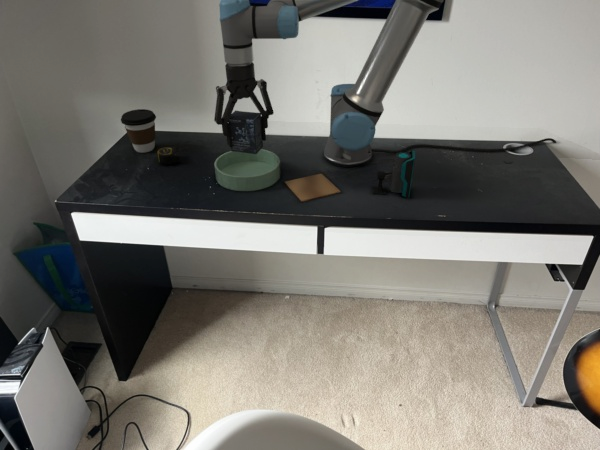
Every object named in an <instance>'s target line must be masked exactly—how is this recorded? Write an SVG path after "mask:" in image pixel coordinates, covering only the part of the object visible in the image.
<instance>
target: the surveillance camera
mask: <svg viewBox="0 0 600 450" xmlns="http://www.w3.org/2000/svg"><path fill="white" fill-rule="evenodd" d="M415 162H416V151H415V150H409V151H407V152H405V151H403V152H399V153H395V161H394V164H393V165H392V170H391V171H384V170H383V171H381V170H377V175H376V180H377V181H378V183H377V186H373V189H372V190H373V191H372V194H373V195H384V196H387V187H383V181H388V182H390V192H392V193H395V194H396V193H397V194H401V196H402V197H404V198H406V199H409V198H411V190H412V184H413V175H414V170H415Z"/></svg>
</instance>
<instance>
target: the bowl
mask: <svg viewBox="0 0 600 450" xmlns="http://www.w3.org/2000/svg"><path fill="white" fill-rule="evenodd" d="M213 164H214V174H215V180H216V182H217V184H219V185H220V186H221V187H222V188H224V189H228V190H231V191H236V192H255V191H260V190H263V189H266V188H269V187H271V186H273V185H275V184H276V183H277V182H278V181H279V180H280V178H281V159H280V157H279V155H277V154H276V153H274V152H273V151H270V150H267V149H264V148H261V150H260V151H259V152H258V153H257V154H250V153H242V152H232V151H231V150H230V151H226V152H225V153H223V154H221V155H219V156H218V157H217V158H216V159H215V161H214V163H213Z"/></svg>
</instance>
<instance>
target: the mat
mask: <svg viewBox="0 0 600 450" xmlns="http://www.w3.org/2000/svg"><path fill="white" fill-rule="evenodd" d="M284 184H285V185H286V186H287V187H288V188H289V189H290V191H291V192H292V193H293V194H294V195H295V196H296V197H297V199H299V201H300V202H301V203H303V202H307V201H312V200H315V199H320V198H325V197H327V196H328V197H329V196H331V195H337V194H339V193H341V190H340V189H339V188H338V187H336V185H335V184H333V183H332V182H331V181H330V180H329V179H328V177H326V176H325V175H324V174H323V173H317V174H313V175H308V176H304V177H299V178H295V179H291V180H286V181H284Z"/></svg>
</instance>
